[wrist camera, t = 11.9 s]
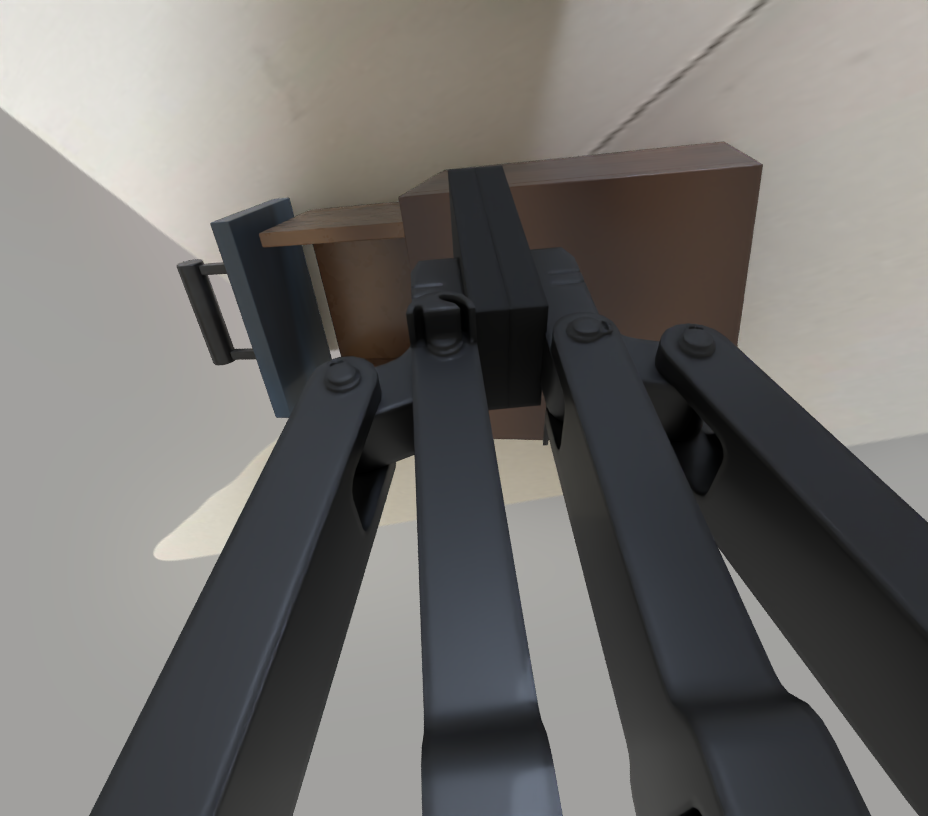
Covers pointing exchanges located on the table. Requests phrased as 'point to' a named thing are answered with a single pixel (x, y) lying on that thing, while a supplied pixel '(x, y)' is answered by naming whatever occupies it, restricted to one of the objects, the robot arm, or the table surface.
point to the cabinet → (623, 237)
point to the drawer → (306, 289)
